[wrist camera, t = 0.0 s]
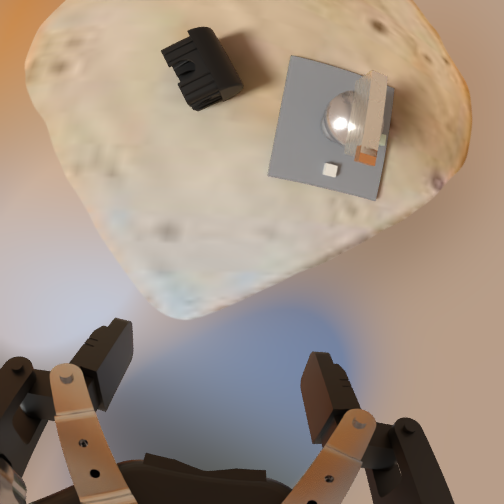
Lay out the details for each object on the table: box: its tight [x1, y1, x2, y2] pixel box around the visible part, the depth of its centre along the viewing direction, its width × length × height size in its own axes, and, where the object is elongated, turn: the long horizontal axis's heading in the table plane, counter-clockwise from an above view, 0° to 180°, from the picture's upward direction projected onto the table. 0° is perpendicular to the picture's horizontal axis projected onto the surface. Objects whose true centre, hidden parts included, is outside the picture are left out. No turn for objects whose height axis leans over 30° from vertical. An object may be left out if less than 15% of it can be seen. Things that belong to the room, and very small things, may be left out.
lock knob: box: [324, 70, 388, 166], centre depth 26 cm, size 10×7×7 cm
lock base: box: [268, 55, 394, 201], centre depth 33 cm, size 18×16×6 cm
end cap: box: [161, 27, 243, 111], centre depth 30 cm, size 10×7×7 cm
